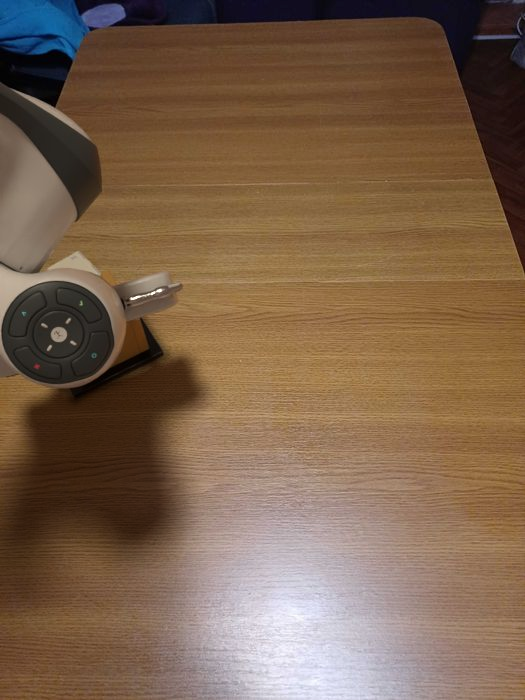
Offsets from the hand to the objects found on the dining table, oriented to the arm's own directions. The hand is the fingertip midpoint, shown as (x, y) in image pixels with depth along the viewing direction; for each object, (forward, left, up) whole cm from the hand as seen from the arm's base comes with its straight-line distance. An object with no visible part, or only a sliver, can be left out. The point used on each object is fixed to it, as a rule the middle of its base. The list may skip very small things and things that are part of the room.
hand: (83, 310), depth 69 cm
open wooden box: (+1, +3, -10) cm, 11 cm away
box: (+1, +3, -10) cm, 10 cm away
